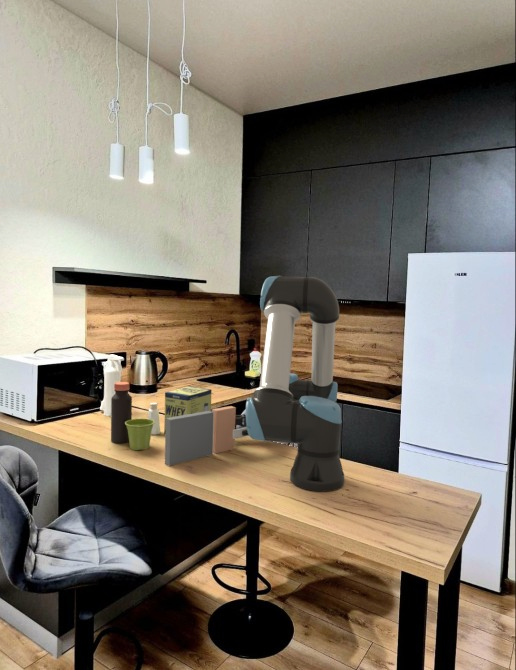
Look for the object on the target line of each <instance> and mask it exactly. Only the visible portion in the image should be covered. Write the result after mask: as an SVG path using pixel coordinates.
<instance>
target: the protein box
mask: <svg viewBox="0 0 516 670" xmlns="http://www.w3.org/2000/svg"><path fill="white" fill-rule="evenodd" d="M205 411H211V412H212V389H209V388H203V387H197V386H191V385H190V386H189V385H188V386H184V387H182V388H177V389H174V390H170V391H165V392H164V426H163V427H164V433H163V434H165V430H166V418H170V417H176V416H181V415H187V414H193V413H199V412H205Z"/></svg>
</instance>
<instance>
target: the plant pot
mask: <svg viewBox="0 0 516 670" xmlns="http://www.w3.org/2000/svg"><path fill="white" fill-rule="evenodd" d="M153 424H154V421H153V420H151V419H148V418H135V419H134V418H132V420H128V421H126V422H125V425H126V426H127V429H128V435H129V449H130V450H132V451H133V450H134V451H139V450H142V451H144V450H147V449H149V448H150V443H151V438H152V435H151V431H152V427H153Z"/></svg>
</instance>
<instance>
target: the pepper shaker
mask: <svg viewBox="0 0 516 670" xmlns="http://www.w3.org/2000/svg"><path fill="white" fill-rule="evenodd" d="M147 414H148V415H147V419H151V420H153V421H154V424H153V427H152V431H151V436H153V435H154V436H157V435H159V434H161V425H160V423H161V422H160V421H161V420H160V412H159V409H158V403H157V402H150V403H149V409H148V412H147Z"/></svg>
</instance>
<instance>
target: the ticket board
mask: <svg viewBox="0 0 516 670" xmlns="http://www.w3.org/2000/svg"><path fill="white" fill-rule="evenodd" d="M164 437H165V438H164V439H165V441H164V442H165V443H164V445H165V446H164V464H165V466H168V465H169V466H168V467H171V466H170V465H173V466H174V465H176V464H177V465H178V464H180V463H185V462H189V461H193V460H197V459H201V458H204V457H208V456H213V455H214V453H213V438H214V412H212V410H211V411H205V412H199V413H193V414H187V415H181V416H176V417H170V418H166V430H165V436H164Z"/></svg>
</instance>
